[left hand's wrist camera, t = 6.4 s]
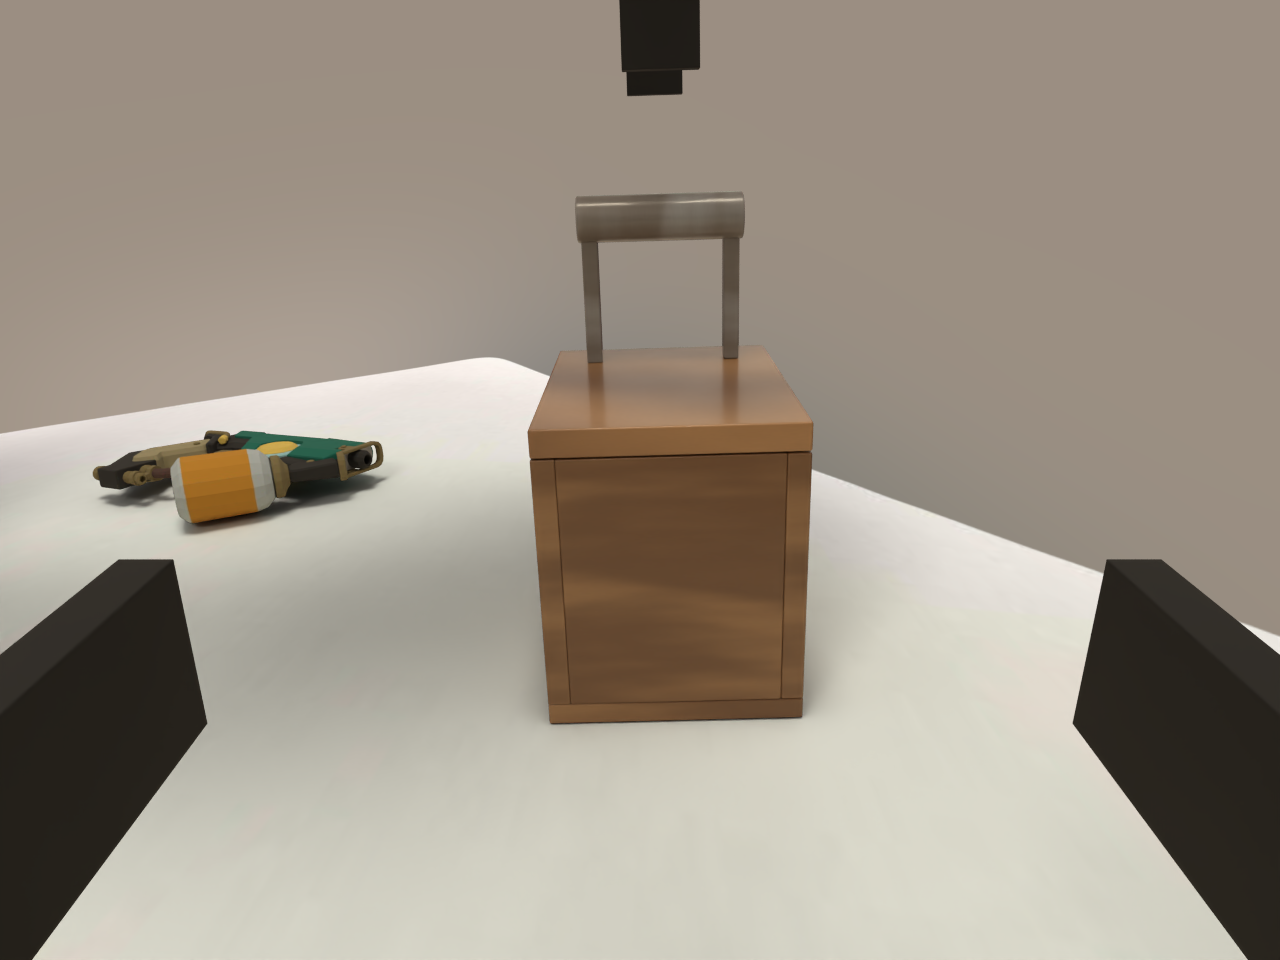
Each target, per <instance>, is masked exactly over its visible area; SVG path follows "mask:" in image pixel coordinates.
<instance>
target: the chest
mask: <svg viewBox="0 0 1280 960" xmlns="http://www.w3.org/2000/svg"><path fill="white" fill-rule="evenodd" d="M530 471H531V484H532V497H533V510H534V523H535V536H536V549H537V562H538V575H539V588H540V601H541V614H542V627H543V640H544V653H545V666H546V679H547V692H548V704H549V717H550V723H580V722H619V721H658V720H697V719H737V718H776V717H802V709H803V698H802V697H803V682H804V656H805V629H806V603H807V577H808V550H809V524H810V497H811V471H812V453H811V451H789V452H754V453H719V454H684V455H649V456H614V457H579V458H545V459H531V460H530Z"/></svg>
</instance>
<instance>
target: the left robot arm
mask: <svg viewBox="0 0 1280 960" xmlns="http://www.w3.org/2000/svg"><path fill="white" fill-rule="evenodd" d="M206 725H207V719H206V715H205V710H204V705H203V700H202V695H201V691H200V686H199V681H198V676H197V671H196V667H195V662H194V657H193V652H192V647H191V643H190V638H189V633H188V628H187V623H186V618H185V614H184V609H183V604H182V599H181V594H180V590H179V585H178V580H177V575H176V570H175V566H174V561H173V560H118V561H116V562H115V563H114V564H113V565H111V566H110V567H109V568H108V569H106V570H105V571H104V572H103V573H101V574H100V575H99V576H98V577H96V578H95V579H94V580H93V581H91V582H90V583H89V584H88V585H86V586H85V587H84V588H83V589H81V590H80V591H79V592H78V593H76V594H75V595H74V596H73V597H72V598H70V599H69V600H68V601H67V602H65V603H64V604H63V605H62V606H60V607H59V608H58V609H57V610H55V611H54V612H53V613H52V614H50V615H49V616H48V617H47V618H45V619H44V620H43V621H42V622H40V623H39V624H38V625H37V626H35V627H34V628H33V629H32V630H30V631H29V632H28V633H27V634H26V635H24V636H23V637H22V638H21V639H19V640H18V641H17V642H16V643H14V644H13V645H12V646H11V647H9V648H8V649H7V650H6V651H4V652H3V653H2V654H1V655H0V960H32V959H33V958H34V956H35V955H36V954H37V952H38V951H39V950H40V948H41V947H42V946H43V944H44V943H45V942H46V940H47V939H48V938H49V936H50V935H51V934H52V932H53V931H54V929H55V928H56V927H57V925H58V924H59V923H60V921H61V920H62V919H63V917H64V916H65V915H66V913H67V912H68V911H69V909H70V908H71V907H72V905H73V904H74V903H75V901H76V900H77V898H78V897H79V896H80V894H81V893H82V892H83V890H84V889H85V888H86V886H87V885H88V884H89V882H90V881H91V880H92V878H93V877H94V876H95V874H96V873H97V872H98V870H99V869H100V867H101V866H102V865H103V863H104V862H105V861H106V859H107V858H108V857H109V855H110V854H111V853H112V851H113V850H114V849H115V847H116V846H117V845H118V843H119V842H120V841H121V839H122V838H123V836H124V835H125V834H126V832H127V831H128V830H129V828H130V827H131V826H132V824H133V823H134V822H135V820H136V819H137V818H138V816H139V815H140V814H141V812H142V811H143V810H144V808H145V807H146V805H147V804H148V803H149V801H150V800H151V799H152V797H153V796H154V795H155V793H156V792H157V791H158V789H159V788H160V787H161V785H162V784H163V783H164V781H165V780H166V779H167V777H168V776H169V774H170V773H171V772H172V770H173V769H174V768H175V766H176V765H177V764H178V762H179V761H180V760H181V758H182V757H183V756H184V754H185V753H186V752H187V750H188V749H189V748H190V746H191V745H192V743H193V742H194V741H195V739H196V738H197V737H198V735H199V734H200V733H201V731H202V730H203V729H204V727H205V726H206ZM1073 725H1074V726H1075V727H1076V729H1077V730H1078V731H1079V733H1080V734H1081V735H1082V737H1083V738H1084V739H1085V741H1086V742H1087V743H1088V745H1089V746H1090V748H1091V749H1092V750H1093V752H1094V753H1095V754H1096V756H1097V757H1098V758H1099V760H1100V761H1101V762H1102V764H1103V765H1104V766H1105V768H1106V769H1107V770H1108V772H1109V773H1110V774H1111V776H1112V777H1113V779H1114V780H1115V781H1116V783H1117V784H1118V785H1119V787H1120V788H1121V789H1122V791H1123V792H1124V793H1125V795H1126V796H1127V797H1128V799H1129V800H1130V801H1131V803H1132V804H1133V805H1134V807H1135V808H1136V810H1137V811H1138V812H1139V814H1140V815H1141V816H1142V818H1143V819H1144V820H1145V822H1146V823H1147V824H1148V826H1149V827H1150V828H1151V830H1152V831H1153V832H1154V834H1155V835H1156V836H1157V838H1158V839H1159V841H1160V842H1161V843H1162V845H1163V846H1164V847H1165V849H1166V850H1167V851H1168V853H1169V854H1170V855H1171V857H1172V858H1173V859H1174V861H1175V862H1176V863H1177V865H1178V866H1179V867H1180V869H1181V870H1182V872H1183V873H1184V874H1185V876H1186V877H1187V878H1188V880H1189V881H1190V882H1191V884H1192V885H1193V886H1194V888H1195V889H1196V890H1197V892H1198V893H1199V894H1200V896H1201V897H1202V898H1203V900H1204V901H1205V903H1206V904H1207V905H1208V907H1209V908H1210V909H1211V911H1212V912H1213V913H1214V915H1215V916H1216V917H1217V919H1218V920H1219V921H1220V923H1221V924H1222V925H1223V927H1224V928H1225V929H1226V931H1227V932H1228V934H1229V935H1230V936H1231V938H1232V939H1233V940H1234V942H1235V943H1236V944H1237V946H1238V947H1239V948H1240V950H1241V951H1242V952H1243V954H1244V955H1245V956H1246V958H1247V959H1248V960H1280V655H1279V654H1278V653H1277V652H1276V651H1274V650H1273V649H1272V648H1271V647H1269V646H1268V645H1267V644H1266V643H1264V642H1263V641H1262V640H1261V639H1259V638H1258V637H1257V636H1256V635H1254V634H1253V633H1252V632H1251V631H1250V630H1248V629H1247V628H1246V627H1245V626H1243V625H1242V624H1241V623H1240V622H1238V621H1237V620H1236V619H1235V618H1233V617H1232V616H1231V615H1230V614H1228V613H1227V612H1226V611H1225V610H1223V609H1222V608H1221V607H1220V606H1218V605H1217V604H1216V603H1215V602H1213V601H1212V600H1211V599H1210V598H1208V597H1207V596H1206V595H1205V594H1203V593H1202V592H1201V591H1200V590H1199V589H1197V588H1196V587H1195V586H1194V585H1192V584H1191V583H1190V582H1188V581H1187V580H1186V579H1185V578H1184V577H1182V576H1181V575H1180V574H1179V573H1177V572H1176V571H1175V570H1174V569H1172V568H1171V567H1170V566H1169V565H1167V564H1166V563H1165V562H1164V561H1162V560H1107V561H1106V566H1105V570H1104V575H1103V580H1102V585H1101V590H1100V594H1099V599H1098V604H1097V609H1096V614H1095V618H1094V623H1093V628H1092V633H1091V638H1090V642H1089V647H1088V652H1087V657H1086V662H1085V667H1084V671H1083V676H1082V681H1081V686H1080V691H1079V695H1078V700H1077V705H1076V710H1075V715H1074V719H1073Z"/></svg>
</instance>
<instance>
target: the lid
mask: <svg viewBox="0 0 1280 960" xmlns="http://www.w3.org/2000/svg"><path fill="white" fill-rule="evenodd" d="M575 214H576V231H577V240H578V243H581V245H582V265H583V284H584V304H585V323H586V343H587V350H579V351H561V352H560V354H559V356H558V359H557V361H556V364H555V366H554V369H553V371H552V373H551V376H550V378H549V381H548V383H547V386H546V388H545V390H544V393H543V395H542V398H541V400H540V403H539V405H538V408H537V410H536V412H535V415H534V417H533V420H532V422H531V425H530V427H529V430H528V443H529V456H530V458H531V459H545V458H579V457H614V456H649V455H684V454H719V453H754V452H789V451H811V450H812V445H813V422H812V420H811V419H810V417H809V416H808V414H807V413H806V411H805V409H804V408H803V406H802V405H801V403H800V402H799V400H798V399H797V397H796V396H795V394H794V393H793V391H792V389H791V388H790V386H789V385H788V383H787V382H786V380H785V379H784V377H783V376H782V374H781V373H780V371H779V370H778V368H777V366H776V365H775V363H774V362H773V360H772V359H771V357H770V356H769V354H768V353H767V351H766V350H765V348H764V346H763V345H746V346H739V238H742V237H743V234H744V223H745V205H744V195H743V192H742V191H726V192H695V193H664V194H632V195H600V196H577V197H576V202H575ZM701 239H723V277H722V281H723V282H722V284H723V285H722V287H723V289H722V294H723V295H722V346H714V347H679V348H646V349H613V350H603V347H602V324H601V302H600V280H599V258H598V243H605V242H637V241H669V240H701Z"/></svg>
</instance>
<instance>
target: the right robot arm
mask: <svg viewBox="0 0 1280 960" xmlns="http://www.w3.org/2000/svg"><path fill="white" fill-rule="evenodd" d="M619 1H620V30H621V59H622V72H627V96H647V95H677V94H682V70H698V69H699V68H700V1H699V0H619Z"/></svg>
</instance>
